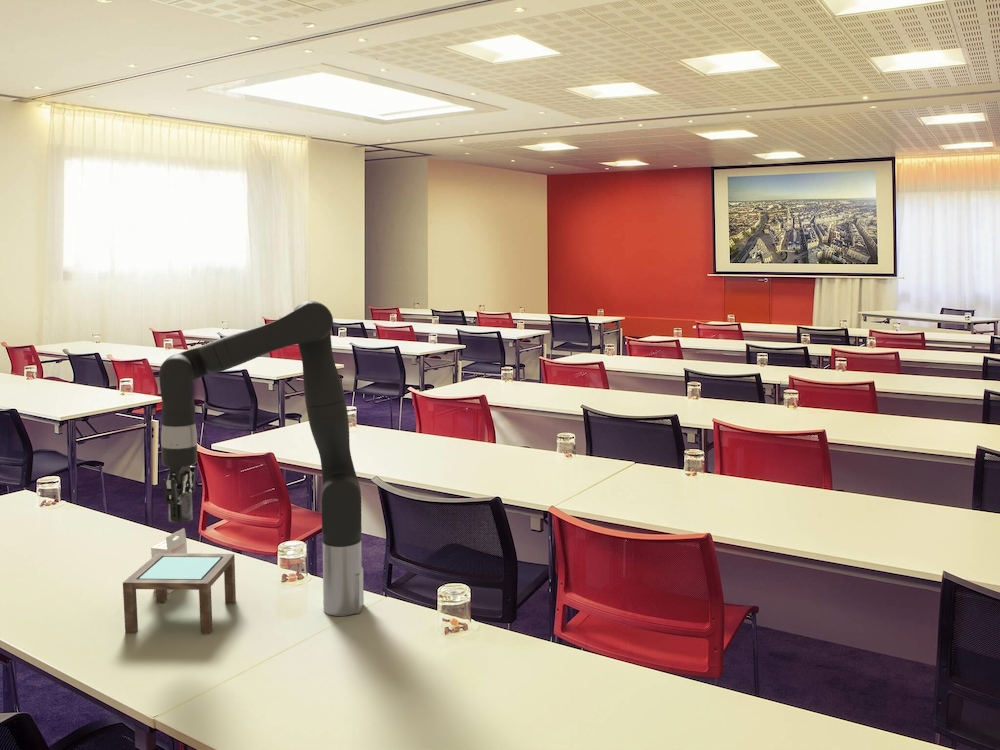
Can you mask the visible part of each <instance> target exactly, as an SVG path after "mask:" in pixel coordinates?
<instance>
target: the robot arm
mask: <svg viewBox="0 0 1000 750" xmlns="http://www.w3.org/2000/svg"><path fill="white" fill-rule="evenodd" d="M333 318H334V317H333V315H332V313H331V310H329V308H328V307H327V306H326V305H324V304H323V303H321V302H320V301H316V300H304V301H302V302H301V303H299V304H298V305H297V306H296V307H294V309H293V311H291V312H289V313H288V314H286V315H284V316H283V317H280V318H279V319H276V320H274V321H271V322H268V323H266V324H263V325H261V326H256V327H253V328H250V329H246V330H243V331H238V332H236V333H232V334H229V335H226V336H224V337H221V338H218V339H216V340H215V339H214V340H213V341H211V342H208V343H206V344H204V345H202V346H198V347H195V348H192V349H191V348H190V349H188V350H184V351H181V352H179V353H174V354H173V355H170V356H168V357H167V358H166V359H165V360H164V361H163V362H162V364H161V365H160V367H159V372H158V373H159V374H158V375H159V377H158V378H159V388H160V398H161V402H162V403H161V431H160V443H161V444H160V446H161V447H160V448H161V449H160V450H161V453H160V454H161V464H162V466H163V467H167V468H168V469H169V471H168V475H167V478H166V479H165V478H164V479H163V480H162V484H163V493H164V495H163V496H164V502H165V505H168V506H169V505H170V510H171V520H172V521H180V520H181V519H182V508H181V503H182V495H183V494H184V493H185V491H189V492H192V493H194V492H195V491H196V487H195V486H196V471H197V467H196V464H197V463H198V432H197V426H196V406H195V401H194V381H195V380H197V379H200V378H203V377H205V376H208V375H210V374H217V373H221V372H224V371H226V370H229V369H232V368H235V367H237V366H240V365H243V364H245V363H247V362H250V361H252V360H254V359H256V358H259V357H261V356H264V355H266V354H269V353H271V352H274V351H277V350H280V349H285V348H286V347H291V346H295V345H297V346H298V349H299V352H300V358H301V362H302V378H303V379H302V380H303V391H304V393H303V394H304V400H305V401H304V402H305V407H306V408H305V409H306V413H307V418H308V423H309V427H310V431H311V434H312V438H313V441H314V443H315V445H316V448H317V450H318V454H319V458H320V465H321V466H320V467H321V477H322V479H321V481H322V485H321V486H322V487H321V498H320V499H321V500H320V501H321V505H320V507H321V535H322V536H321V537H322V539H321V540H322V576H323V577H322V587H323V588H322V590H323V591H322V594H323V595H322V596H323V598H322V599H323V601H322V602H323V603H322V604H323V612H324V613H326V614H327V615H330V616H335V617H345V616H351V615H354V614H355V615H356V614H361V611H362V608H363V606H364V600H365V599H364V598H365V597H364V567H363V566H362V564H363V563H362V529H363V528H362V491H361V485H360V481H359V480H358V476H357V473H356V471H355V466H354V462H353V459H352V455H351V447H350V425H349V423H350V422H349V413H348V408H347V402H346V396H345V392H344V387H343V385H342V381H341V378H340V375H339V371H338V369H337V365H336V363H335V359H334V354H333V347H332V338H331V337H332V336H331V334H332V333H331V330H332V328H333V325H334V319H333ZM194 465H195V466H194ZM173 496H174V499H173Z"/></svg>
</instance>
